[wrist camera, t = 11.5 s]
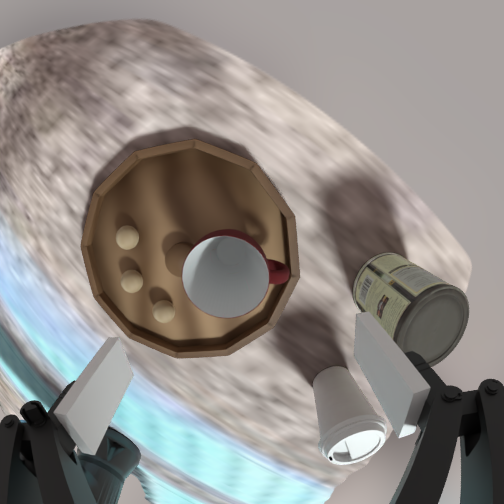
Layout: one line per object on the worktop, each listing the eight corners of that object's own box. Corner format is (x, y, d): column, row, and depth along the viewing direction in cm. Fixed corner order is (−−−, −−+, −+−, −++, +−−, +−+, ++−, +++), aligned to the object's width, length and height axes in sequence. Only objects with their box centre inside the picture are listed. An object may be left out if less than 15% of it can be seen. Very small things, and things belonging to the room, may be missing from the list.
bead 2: (128, 288, 36) (120, 297, 33) (123, 267, 35) (114, 275, 32) (148, 286, 36) (140, 295, 33) (143, 265, 35) (135, 272, 32)
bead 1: (124, 247, 35) (114, 253, 32) (119, 225, 34) (109, 229, 31) (144, 245, 35) (135, 250, 32) (139, 222, 34) (131, 226, 31)
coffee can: (413, 306, 39) (463, 352, 25) (355, 325, 39) (393, 383, 26) (411, 244, 36) (473, 274, 23) (348, 260, 37) (396, 303, 23)
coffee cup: (306, 360, 41) (327, 433, 26) (363, 355, 41) (400, 418, 26) (300, 403, 43) (315, 472, 29) (353, 397, 43) (379, 459, 29)
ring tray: (121, 349, 40) (114, 359, 37) (79, 170, 33) (67, 170, 30) (300, 336, 40) (304, 347, 37) (282, 131, 33) (285, 127, 30)
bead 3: (159, 317, 37) (153, 327, 34) (154, 297, 36) (147, 306, 34) (179, 315, 37) (174, 326, 34) (174, 295, 36) (169, 305, 34)
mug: (287, 221, 34) (302, 239, 25) (281, 284, 36) (292, 321, 27) (199, 216, 34) (180, 232, 24) (198, 279, 36) (182, 315, 26)
